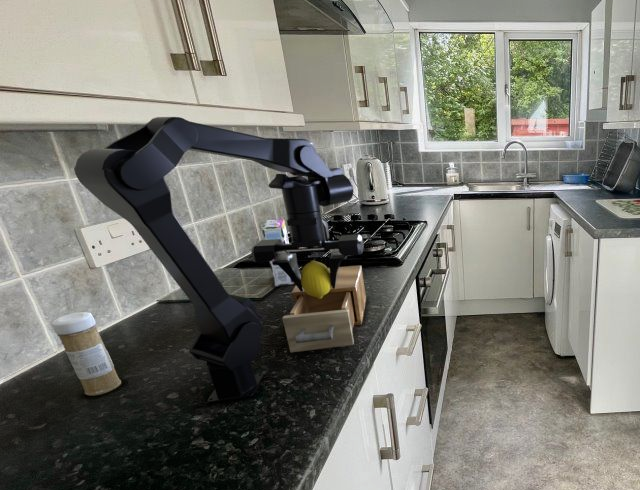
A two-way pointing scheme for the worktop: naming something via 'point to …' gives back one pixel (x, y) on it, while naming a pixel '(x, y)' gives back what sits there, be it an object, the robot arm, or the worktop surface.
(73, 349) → the sprinkles bottle
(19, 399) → the worktop surface
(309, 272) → the lemon
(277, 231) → the candy bar box
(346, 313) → the drawer
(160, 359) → the worktop surface
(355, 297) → the cabinet
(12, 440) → the worktop surface
